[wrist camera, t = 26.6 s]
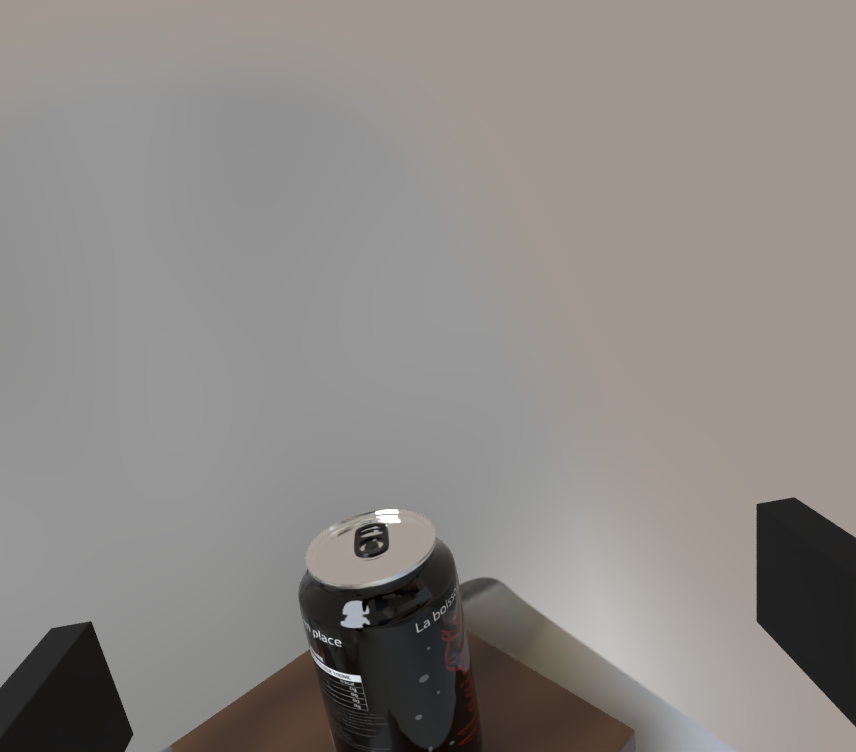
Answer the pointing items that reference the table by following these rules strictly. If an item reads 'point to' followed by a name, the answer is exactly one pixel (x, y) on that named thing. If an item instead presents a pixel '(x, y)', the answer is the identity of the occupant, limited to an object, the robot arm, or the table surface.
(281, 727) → the shelf
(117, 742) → the robot arm
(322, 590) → the beverage can
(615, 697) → the table surface
